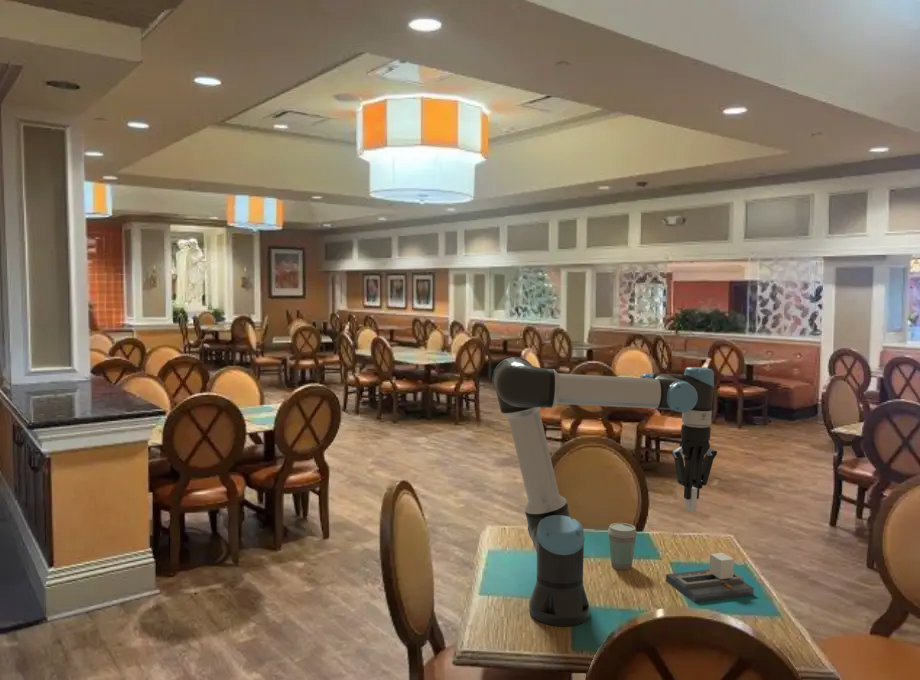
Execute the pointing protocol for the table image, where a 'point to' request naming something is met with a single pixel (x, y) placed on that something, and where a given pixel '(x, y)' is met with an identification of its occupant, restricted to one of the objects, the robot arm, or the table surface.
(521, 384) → the robot arm
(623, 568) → the coffee cup
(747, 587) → the console
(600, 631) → the table surface
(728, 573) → the fader tab
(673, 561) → the table surface
